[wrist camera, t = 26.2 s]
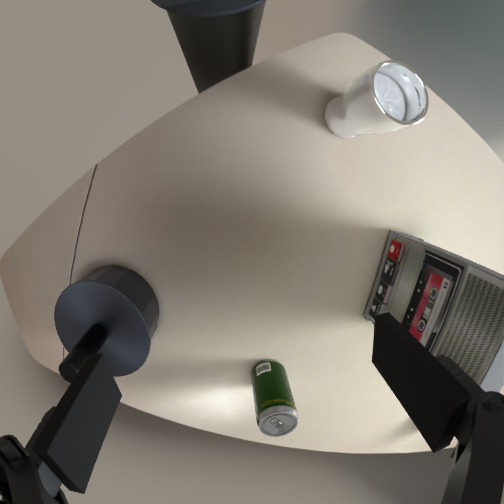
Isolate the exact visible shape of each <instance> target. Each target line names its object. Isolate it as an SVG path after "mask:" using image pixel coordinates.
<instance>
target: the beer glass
mask: <svg viewBox="0 0 504 504" xmlns="http://www.w3.org/2000/svg"><path fill="white" fill-rule="evenodd" d="M427 110H428V94H427V90H426V87H425V85H424V83H423V81H422V80H421V78H420V77H419V75H418V74H417V73H416V72H415V71H414V70H413V69H412V68H410V67H409V66H408V65H406V64H404V63H402V62H399V61H393V60H388V61H383V62H381V63H379V64H378V65H376V66H374V67H372V68H370V69H368V70H366V71H365V72H363V73H361V74H360V75H359V76H357V77H356V78H355V79H354V80H353V81H352V82H351V83H350V85H349V86H348V87H347V89H346V90H345V92H344V94H343V95H342V96H338V97H335V98H333V99H332V100H330V101H329V103H328V104H327V106H326V108H325V112H324V116H325V121H326V124H327V126H328V127H329V129H330V130H331V131H332V132H333V133H334V134H336V135H337V136H339V137H342V138H354V137H356V136H358V135H360V134H361V133H362V132H367V133H387V132H393V131H396V130H400V129H402V128H405V127H408V126H410V125H414V124H416V123H418V122H420V121H421V120H422V119H423V118H424V117H425V115H426V113H427Z"/></svg>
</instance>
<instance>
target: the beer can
mask: <svg viewBox="0 0 504 504" xmlns="http://www.w3.org/2000/svg"><path fill="white" fill-rule="evenodd" d="M251 377H252V385H253V394H254V402H255V411H256V419H257V425H258V426H259V428H260V430H261V432H262V433H264V434H265V435H268V436H274V437H278V436H283V435H286V434H288V433H290V432H292V431H293V430H294V429H295V428H296V426H297V424H298V423H297V419H298V414H297V410H296V407H295V403H294V399H293V396H292V392H291V389H290V385H289V382H288V378H287V375H286V371H285V369H284V367H283V366H282V365H281V364H280V363H278V362H276V361H274V360H265V361H262V362H260V363H258V364H257V365H256V366H255V368H254V369H253V371H252V374H251Z"/></svg>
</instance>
